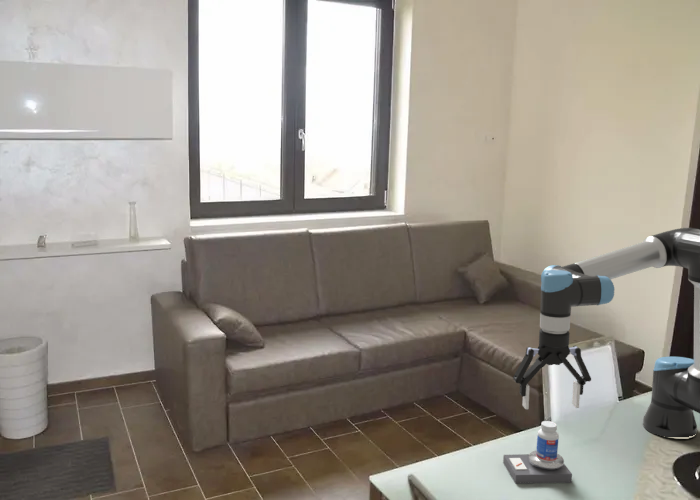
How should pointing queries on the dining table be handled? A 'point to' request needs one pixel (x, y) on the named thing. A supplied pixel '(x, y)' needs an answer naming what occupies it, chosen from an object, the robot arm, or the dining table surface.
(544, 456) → the pill bottle
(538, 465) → the pan
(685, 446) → the dining table surface
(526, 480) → the scale base
